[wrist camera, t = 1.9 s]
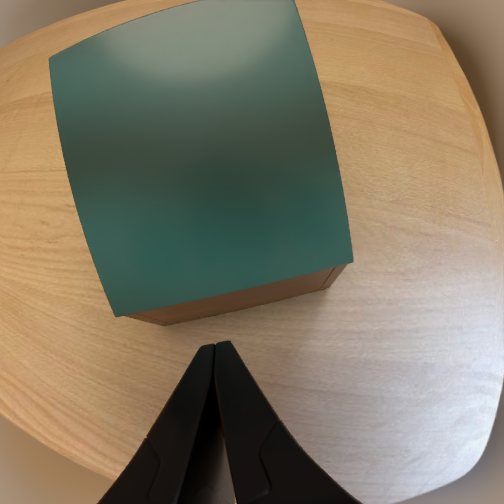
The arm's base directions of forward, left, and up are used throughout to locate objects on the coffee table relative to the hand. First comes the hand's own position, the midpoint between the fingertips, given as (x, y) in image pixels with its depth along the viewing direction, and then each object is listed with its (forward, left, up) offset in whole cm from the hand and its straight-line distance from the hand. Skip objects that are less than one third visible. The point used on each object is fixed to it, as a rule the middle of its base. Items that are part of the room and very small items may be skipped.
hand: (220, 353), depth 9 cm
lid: (+9, +3, -3) cm, 10 cm away
